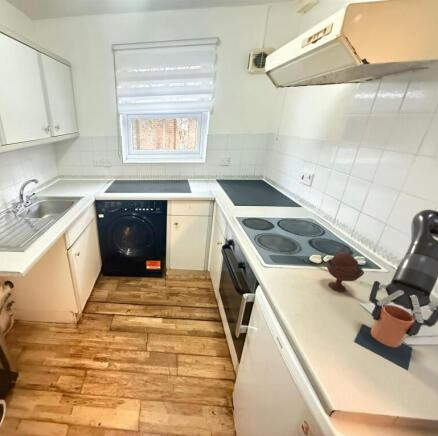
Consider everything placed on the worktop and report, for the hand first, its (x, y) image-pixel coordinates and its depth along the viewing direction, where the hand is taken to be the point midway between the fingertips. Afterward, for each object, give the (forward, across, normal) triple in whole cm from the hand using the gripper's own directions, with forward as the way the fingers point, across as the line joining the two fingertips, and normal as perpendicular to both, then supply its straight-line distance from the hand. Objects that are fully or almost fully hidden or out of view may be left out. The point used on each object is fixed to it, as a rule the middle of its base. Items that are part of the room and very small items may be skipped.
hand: (391, 326), depth 64 cm
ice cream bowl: (-10, -16, +21) cm, 28 cm away
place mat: (+4, 0, +7) cm, 8 cm away
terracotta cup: (+3, 0, +5) cm, 6 cm away
